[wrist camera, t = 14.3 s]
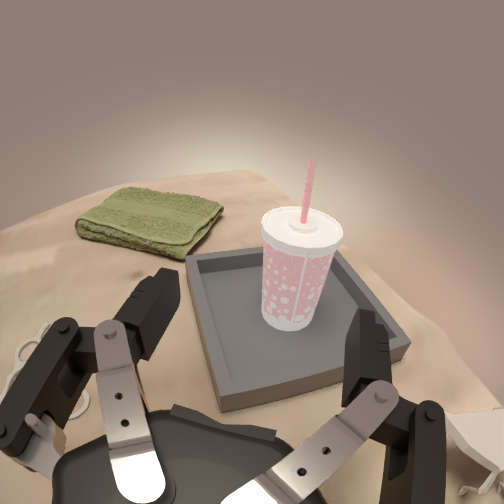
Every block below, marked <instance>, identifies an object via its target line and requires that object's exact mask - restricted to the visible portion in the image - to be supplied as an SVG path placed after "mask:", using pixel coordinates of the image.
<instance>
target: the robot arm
mask: <svg viewBox="0 0 504 504" xmlns="http://www.w3.org/2000/svg"><path fill="white" fill-rule="evenodd" d="M179 303H180V285H179V274H178V271H176V270H172V269H167V268H163V267H162V268H160V269H159V270H158V272H157V273H156V275H155V276H154V277H152V276H148V277H146V278H145V279H143V280H142V281H140V282H139V284H138V285H137V286H136V288H135V289H134V291H133V292H132V293H131V295H130V297H128V299H127V300H126V301H125V303H124V304H123V306H122V307H121V308H120V310H119V311H118V312H117V314H116V315H115V317H114V318H113V319H112V320H106V321H103V322H101V323H100V324H99V325H98V326H97V327H79V326H78V323H77V322H76V320H74V319H73V318H70V317H64V318H60V319H58V320H57V321H55V322H54V323H53V324H52V326H51V327H50V328H49V330H48V331H47V333H46V334H45V335H44V337H43V338H42V340H41V341H40V343H39V344H38V346H37V347H36V348H35V350H34V351H33V353H32V354H31V356H30V357H29V359H28V360H27V362H26V363H25V365H24V366H23V368H22V370H21V371H20V373H19V374H18V376H17V377H16V379H15V381H14V382H13V384H12V385H11V387H10V389H9V390H8V392H7V394H6V395H5V397H4V399H3V400H2V402H1V404H0V450H1V451H2V452H3V453H4V454H5V455H6V456H8V457H9V458H11V459H12V460H13V461H15V462H16V463H18V464H19V465H21V466H23V467H25V468H26V469H28V470H29V471H32V472H38V473H40V474H41V475H43V476H45V477H47V478H48V479H50V480H52V487H53V497H52V504H327V502H326V500H325V499H324V497H323V495H322V494H321V492H320V490H319V489H318V487H319V486H320V485H321V484H322V483H323V482H324V481H325V480H326V479H328V478H329V477H330V476H331V475H332V474H333V473H334V472H335V471H336V470H337V469H338V468H339V467H340V466H341V465H342V464H343V463H344V462H345V461H346V460H347V459H348V458H349V457H350V456H351V455H352V454H353V453H354V452H355V451H356V450H357V449H358V448H359V447H360V446H361V445H362V444H363V443H364V442H365V441H366V440H367V439H368V438H370V439H372V440H375V441H377V442H379V443H382V444H384V445H386V452H385V462H384V471H383V479H382V487H381V494H380V500H379V504H445V488H446V423H445V413H444V410H443V408H442V407H441V406H440V405H439V404H438V403H436V402H434V401H431V400H426V401H423V402H421V403H420V404H419V405H417V404H415V403H413V402H410V401H408V400H406V399H404V398H402V397H401V396H399V394H398V391H397V389H396V388H395V387H394V386H393V384H392V373H391V358H390V346H389V335H388V332H387V331H386V329H385V327H384V325H383V324H377V323H376V320H375V312H374V311H372V310H366V309H360V308H358V309H357V310H356V312H355V315H354V317H353V320H352V322H351V325H350V327H349V330H348V332H347V335H346V340H345V355H344V375H343V391H342V405H341V407H345V409H344V410H343V411H342V412H341V413H340V414H339V415H335V416H334V417H333V418H331V419H330V420H329V421H328V422H327V423H326V424H325V425H324V426H322V427H321V428H320V429H319V430H318V431H317V432H316V433H314V434H313V435H312V436H311V437H310V438H308V439H307V440H306V441H305V442H304V443H302V444H301V445H300V446H299V447H298V448H296V449H295V450H294V449H293V448H292V447H291V446H290V445H289V444H287V443H286V442H285V441H283V440H281V439H280V438H277V437H275V435H276V431H277V430H273V429H268V428H263V427H258V426H254V425H226V424H221V423H218V422H217V421H215V420H213V419H211V418H209V417H207V416H206V415H204V414H202V413H200V412H199V411H196V410H192V409H189V408H186V407H182V406H179V405H176V404H174V405H173V407H172V409H171V410H158V411H153V412H150V409H149V406H148V403H147V400H146V397H145V393H144V390H143V386H142V382H141V378H140V374H139V370H138V367H137V364H138V362H139V360H140V359H143V360H146V361H149V359H150V357H151V355H152V354H153V352H154V350H155V348H156V346H157V345H158V343H159V341H160V339H161V337H162V336H163V334H164V332H165V330H166V328H167V327H168V325H169V323H170V321H171V319H172V318H173V316H174V314H175V312H176V311H177V309H178V307H179ZM92 373H96V381H97V388H98V394H99V400H100V405H101V411H102V416H103V421H104V426H105V431H106V434H105V435H103V436H101V437H99V438H97V439H95V440H93V441H91V442H88V443H86V444H84V445H82V446H80V447H78V448H75V449H73V450H71V451H69V452H67V453H65V454H64V450H65V444H66V436H65V433H64V432H63V429H64V427H65V425H66V423H67V421H68V419H69V417H70V415H71V413H72V411H73V409H74V407H75V405H76V403H77V401H78V399H79V398H80V396H81V394H82V392H83V390H84V388H85V386H86V384H87V382H88V381H89V379H90V377H91V375H92Z"/></svg>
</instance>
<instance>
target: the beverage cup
mask: <svg viewBox="0 0 504 504" xmlns="http://www.w3.org/2000/svg"><path fill="white" fill-rule="evenodd" d="M315 165H316V160H315V159H309V165H308V173H307V179H306V186H305V193H304V200H303V206H302V207H299V206H284V207H280V208H276V209H272V210H271V211H269V212H267V213H266V214H264V216H263V218H262V221H261V227H262V229H261V234H262V236H263V239H264V245H263V280H262V315H263V318H264V319H265V321H266V322H267V323H268V324H269V325H271V326H272V327H274V328H276V329H278V330H283V331H298V330H300V329H302V328H304V327H306V326H307V325H308V324H309V323H310V321H311V320H312V317H313V314H314V312H315V309H316V306H317V303H318V300H319V298H320V295H321V292H322V289H323V286H324V283H325V280H326V277H327V274H328V271H329V268H330V265H331V262H332V259H333V256H334V253H335V251H336V250H337V249H338V247H339V246H340V241H341V240H342V238H343V228H342V227H341V226H340V224H339V223H338V222H337V220H335V219H334V218H332V217H331V216H329V215H327V214H326V213H323V212H320V211H318V210H315V209H311V208H309V204H310V197H311V191H312V185H313V178H314V172H315Z"/></svg>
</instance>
